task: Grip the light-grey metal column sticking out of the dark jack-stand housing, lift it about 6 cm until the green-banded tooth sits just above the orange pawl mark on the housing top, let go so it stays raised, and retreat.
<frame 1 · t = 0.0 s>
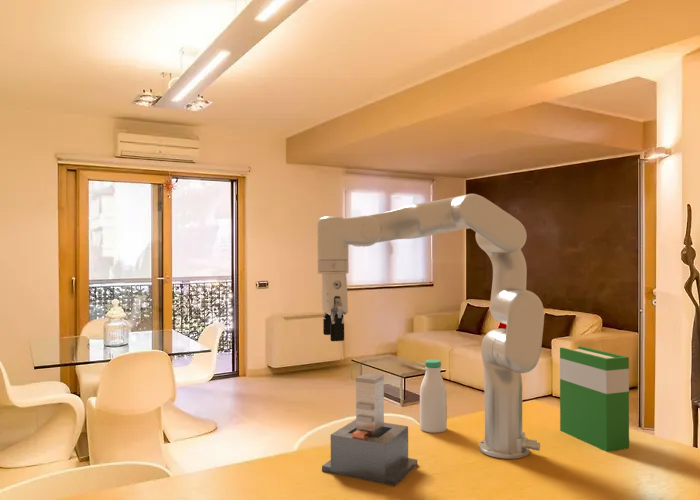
hand: (333, 337, 135), 31 cm above the table, tool pointing down, fingers open, 9 cm apart
column: (369, 422, 133), point 11 cm above the table, slide at 0.0 cm
milk bottle: (433, 429, 162), on the table
hardback book: (593, 439, 153), on the table
housing: (370, 467, 133), on the table
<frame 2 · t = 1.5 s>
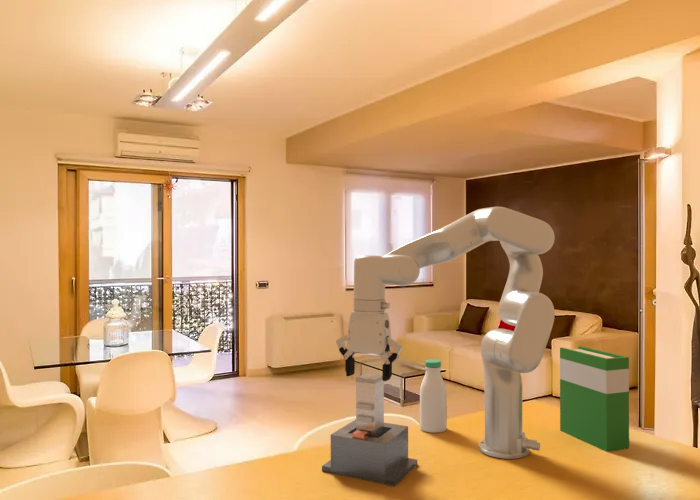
hand: (368, 377, 133), 22 cm above the table, tool pointing down, fingers open, 9 cm apart
nothing on the table moved.
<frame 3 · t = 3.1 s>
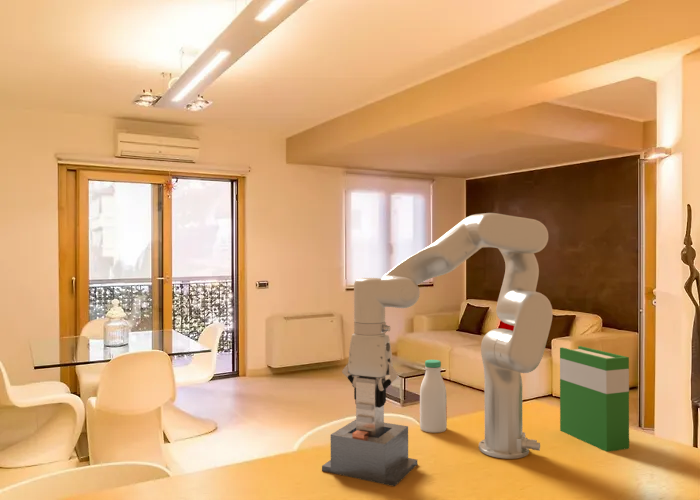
hand: (370, 403, 133), 15 cm above the table, tool pointing down, fingers closed on column, 5 cm apart
column: (369, 422, 133), point 11 cm above the table, slide at 0.0 cm, touching gripper
everything else where it was.
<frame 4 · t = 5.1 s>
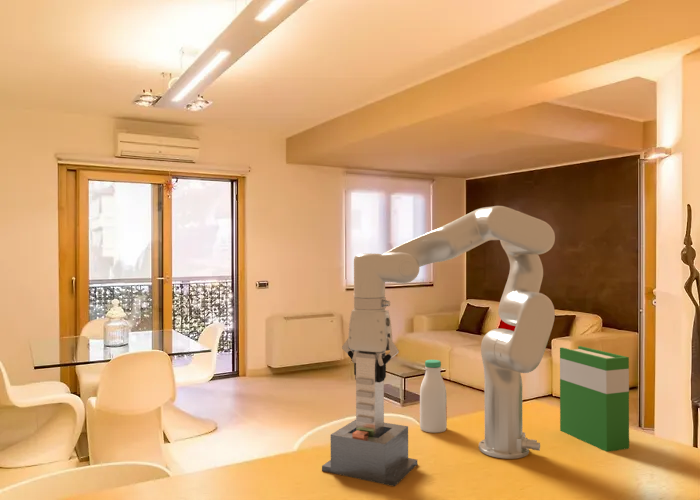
hand: (369, 379, 133), 21 cm above the table, tool pointing down, fingers closed on column, 5 cm apart
column: (369, 397, 133), point 17 cm above the table, slide at 5.9 cm, touching gripper
everything else where it was.
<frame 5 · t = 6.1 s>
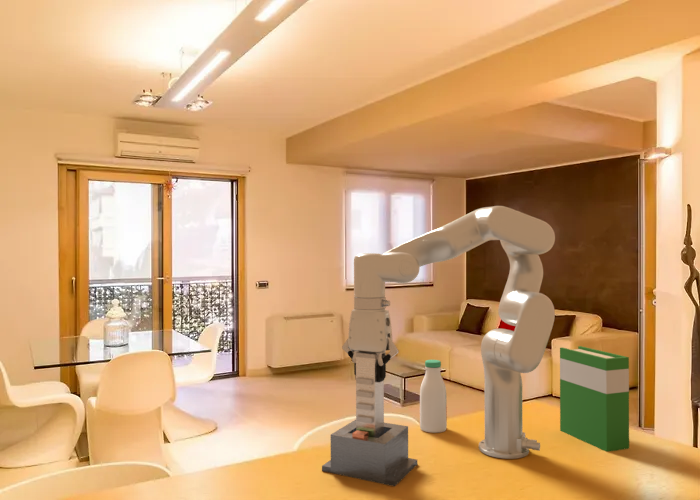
hand: (369, 379, 133), 21 cm above the table, tool pointing down, fingers closed on column, 4 cm apart
column: (369, 397, 133), point 17 cm above the table, slide at 6.0 cm, touching gripper
everything else where it was.
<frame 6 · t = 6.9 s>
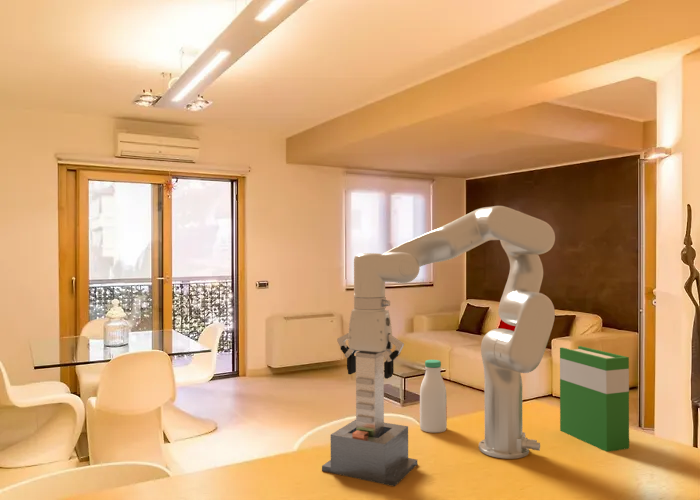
hand: (369, 375, 133), 22 cm above the table, tool pointing down, fingers open, 9 cm apart
column: (369, 397, 133), point 17 cm above the table, slide at 6.0 cm
everything else where it was.
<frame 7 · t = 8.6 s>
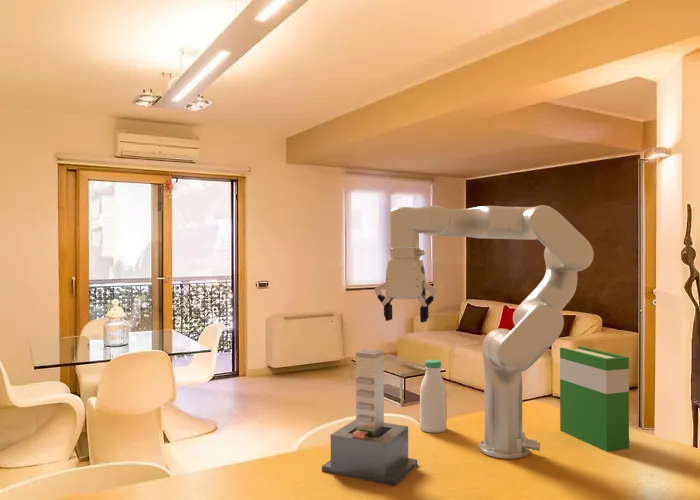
hand: (406, 320, 143), 34 cm above the table, tool pointing down, fingers open, 9 cm apart
nothing on the table moved.
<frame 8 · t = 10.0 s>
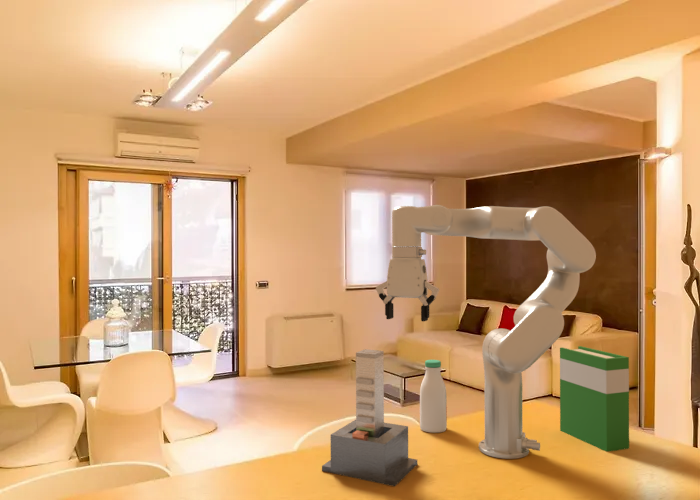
hand: (406, 319, 144), 34 cm above the table, tool pointing down, fingers open, 9 cm apart
nothing on the table moved.
at the end: column slide at 6.0 cm; the gripper is holding nothing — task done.
